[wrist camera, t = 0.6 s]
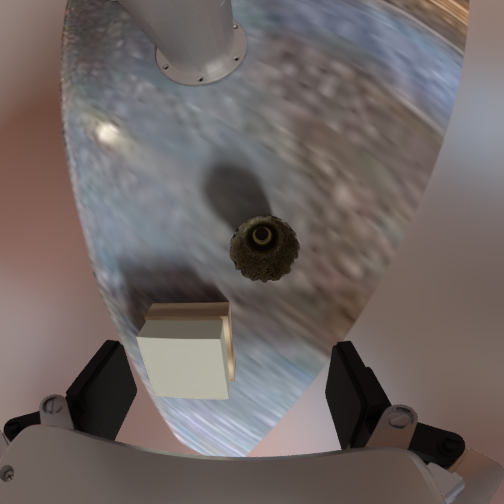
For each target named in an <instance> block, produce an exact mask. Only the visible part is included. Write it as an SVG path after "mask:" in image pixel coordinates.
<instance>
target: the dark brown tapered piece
mask: <svg viewBox="0 0 504 504" xmlns="http://www.w3.org/2000/svg"><path fill="white" fill-rule="evenodd" d="M260 228H264V229H266V230H267V232H268V236H267V238H266V239H265V240H259V239H258V238H257V237H256V231H257V230H258V229H260ZM296 237H297V235H296V233H295V232H294V231H293V230H292V229H291V227H290V226H289V225H288V224H287V223H286V222H284V221H283V220H282V219H279V218H277V217H274V216H271V215H265V214H262V215H256V216H253V217H251V218H249V219H247V220H246V221H245V222H243V223H242V224H241V225H240V226H239V228H238V229H237V230H236V232H235V234H234V236H233V238H232V239H231V242H230V246H231V247H230V258H231V260H232V261H233V262H234V263H235V268H236V270H241V273H242V275H243V276H244V277H245V278H249V279H251V280H252V281H255V280H258V279H260V280H261V281H262V282H264V283H266V282H267V280H272V281H277V280H280V279H281V278H282V277H283V276H284V275H285V274H288V273H290V271H291V267H290V266H291V265H292V264H293V263H294V260H295V259H296V258H297V259H298V252H299V250H300V245H299V242H298V241H297V238H296Z"/></svg>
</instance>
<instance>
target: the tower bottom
mask: <svg viewBox="0 0 504 504" xmlns="http://www.w3.org/2000/svg"><path fill="white" fill-rule="evenodd" d="M144 318H145V322H146V321H147V320H223V322H224V331H225V340H226V349H227V357H228V366H229V374H230V381H235V368H236V362H235V352H234V342H233V332H232V322H231V311H230V302H217V303H153V304H152V305H151V307H150V308H149V309H148V311H147V312H146V314H145V315H144Z"/></svg>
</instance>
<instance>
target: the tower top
mask: <svg viewBox="0 0 504 504" xmlns="http://www.w3.org/2000/svg"><path fill="white" fill-rule="evenodd" d="M136 338H137V341H138V344H139V348H140V351H141V354H142V357H143V360H144V364H145V367H146V370H147V373H148V375H149V378H150V381H151V384H152V387H153V389H154V392H155V395H156V396H164V397H176V398H192V399H229V388H230V374H229V366H228V357H227V349H226V340H225V331H224V322H223V320H147V321H146V322H145V324H144V325H143V327H142V329H141V330H140V332H139V334H138V335H137V337H136Z"/></svg>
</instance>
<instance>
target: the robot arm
mask: <svg viewBox="0 0 504 504" xmlns="http://www.w3.org/2000/svg"><path fill="white" fill-rule="evenodd" d="M117 1H118V2H119V3H120V4H121V5H122V6H123V7H124V8H125V9H126V10H127V12H128V13H129V14H130V15H131V16H132V18H133V19H134V20H135V21H136V22H137V24H138V25H139V26H140V27H141V28H142V29H143V31H144V32H145V33H146V34H147V35H148V37H149V38H150V39H151V40H152V42H153V43H154V44H155V45H156V46H157V50H156V61H157V64H158V66H159V68H160V70H161V71H162V72H163V74H164V75H165V76H166V77H168V78H169V79H170V80H172V81H174V82H176V83H178V84H182V85H185V86H205V85H209V84H213V83H215V82H218V81H221V80H222V79H224V78H226V77H228V76H229V75H230V74H232V73H233V72H234V71H235V70H236V69H237V68H238V67H239V66H240V65H241V63H242V61H243V60H244V58H245V55H246V52H247V37H246V34H245V31H244V30H243V28H242V26H241V25H240V24H239V23H238V22H237V21H235V20H234V19H233V14H232V6H231V0H117ZM236 59H238V60H237V61H235V60H236ZM166 68H167V69H166ZM201 79H203V81H201V82H200V80H201ZM136 393H137V387H136V384H135V381H134V378H133V375H132V372H131V370H130V366H129V363H128V360H127V356H126V353H125V350H124V347H123V345H121V344H120V342H119V341H113V340H107V341H106V342H105V343H104V344H103V345H102V346H101V348H100V349H99V350H98V351H97V353H96V354H95V355H94V356H93V358H92V359H91V360H90V362H89V363H88V364H87V365H86V367H85V368H84V369H83V371H82V372H81V373H80V374H79V376H78V377H77V378H76V379H75V381H74V382H73V383H72V385H71V386H70V387H69V389H68V390H67V391H66V394H67V396H66V397H65V398H64V397H63V396H61V395H56V394H55V395H50V396H47V397H46V398H44V399H43V400H42V401H41V403H40V407H39V410H40V411H38V412H34V413H31V414H27V415H23V416H20V417H16V418H13V419H10V420H9V421H8V422H7V423H6V424H5V426H4V432H3V433H2V432H1V430H0V504H489V503H490V501H491V499H492V498H493V496H494V494H495V493H496V491H497V489H498V487H499V485H500V484H501V482H502V480H503V477H504V468H503V466H502V465H501V464H499V463H498V462H496V461H494V460H492V459H490V458H489V457H487V456H485V455H483V454H481V453H479V452H478V451H476V450H474V449H473V448H470V449H469V450H468V449H466V448H465V442H464V440H463V438H462V437H461V436H459V435H458V434H456V433H453V432H449V431H446V430H442V429H438V428H435V427H432V426H429V425H425V424H422V423H419V422H417V421H418V416H417V413H416V412H415V411H414V410H413V409H412V408H411V407H408V406H406V405H393V406H392V405H391V403H390V401H389V400H388V398H387V396H386V394H385V392H384V390H383V389H382V387H381V385H380V383H379V382H378V380H377V378H376V376H375V375H374V373H373V371H372V369H371V368H370V367H365V365H364V363H363V362H362V360H361V358H360V356H359V354H358V353H357V351H356V349H355V347H354V346H353V344H352V342H351V341H343V342H338V343H337V345H336V346H333V348H332V355H331V361H330V367H329V373H328V379H327V384H326V390H325V394H326V399H327V402H328V406H329V409H330V412H331V415H332V419H333V422H334V425H335V429H336V432H337V435H338V439H339V442H340V445H341V449H342V450H337V451H330V452H323V453H313V454H303V455H291V456H277V457H221V456H205V455H193V454H184V453H176V452H169V451H162V450H156V449H150V448H145V447H139V446H135V445H130V444H126V443H122V442H117V441H115V438H116V436H117V434H118V432H119V430H120V428H121V425H122V423H123V421H124V419H125V417H126V415H127V412H128V410H129V408H130V406H131V404H132V402H133V400H134V398H135V396H136ZM441 492H442V493H443V494H445V497H446V502H445V500H444V498H443V495H442V493H441Z"/></svg>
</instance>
